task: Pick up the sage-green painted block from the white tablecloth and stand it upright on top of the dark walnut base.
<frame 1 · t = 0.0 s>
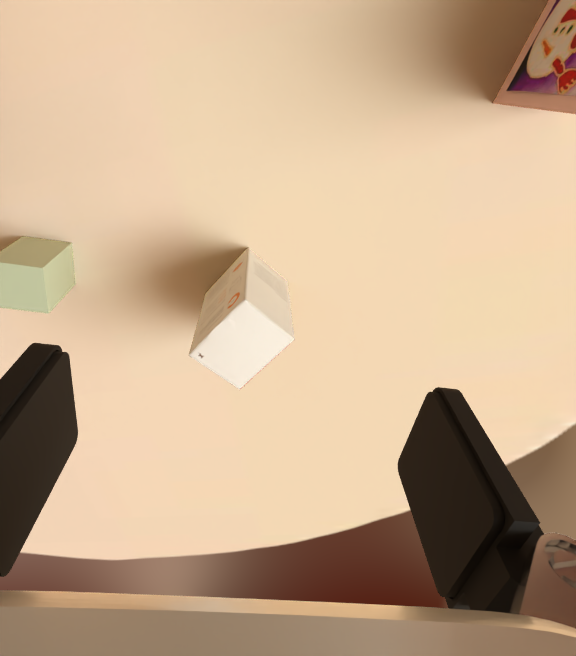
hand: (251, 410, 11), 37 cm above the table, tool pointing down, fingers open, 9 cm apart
sage block: (50, 260, 47), on the table
greeting card: (553, 49, 39), on the table
small box: (246, 286, 50), on the table
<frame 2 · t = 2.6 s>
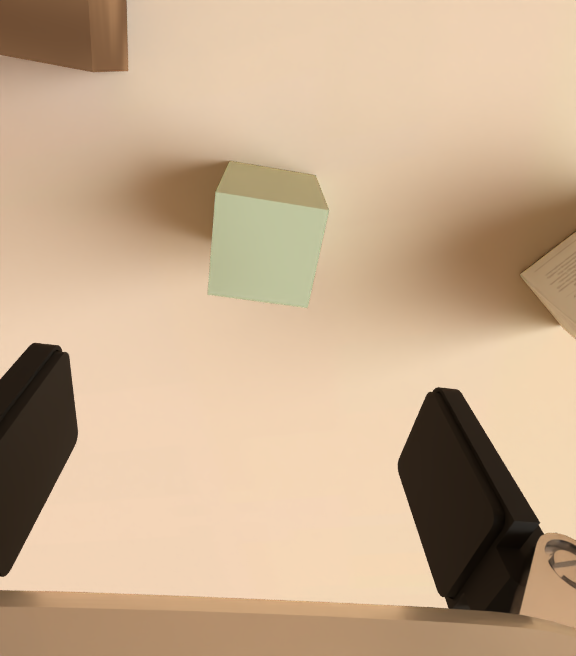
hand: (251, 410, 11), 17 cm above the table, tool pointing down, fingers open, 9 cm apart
sage block: (266, 210, 26), on the table
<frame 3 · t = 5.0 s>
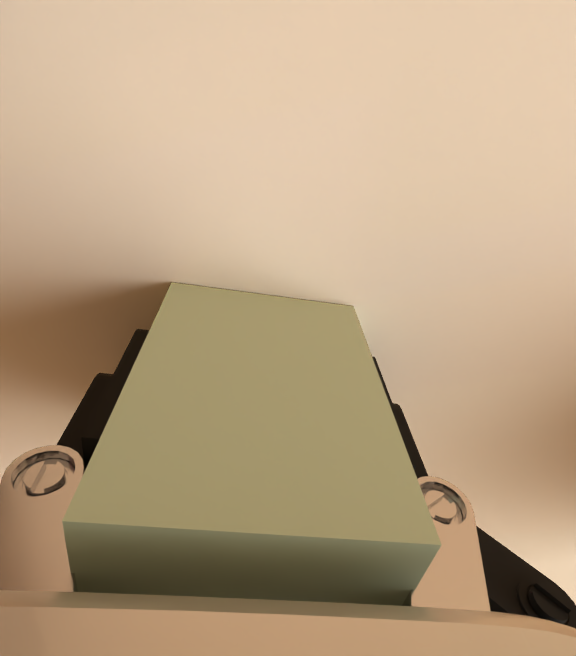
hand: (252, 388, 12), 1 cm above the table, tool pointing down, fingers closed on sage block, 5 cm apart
sage block: (253, 367, 13), on the table, touching gripper
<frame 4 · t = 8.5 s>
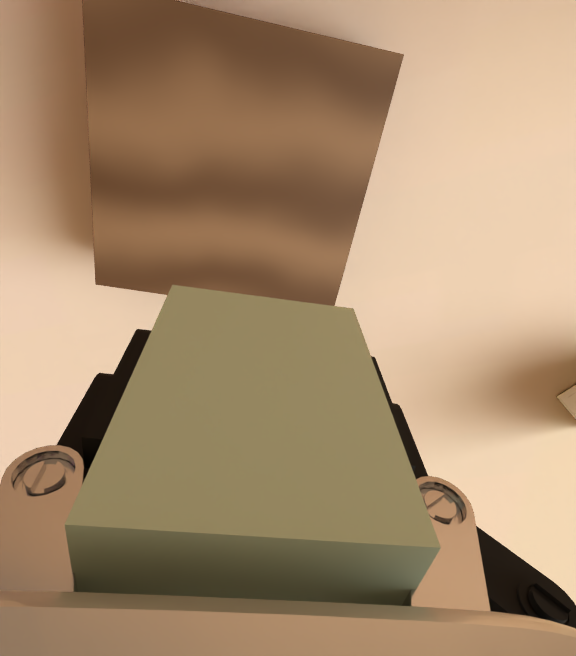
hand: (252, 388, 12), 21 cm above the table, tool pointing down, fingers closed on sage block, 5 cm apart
sage block: (253, 369, 13), point 20 cm above the table, touching gripper
walnut base: (236, 167, 29), on the table
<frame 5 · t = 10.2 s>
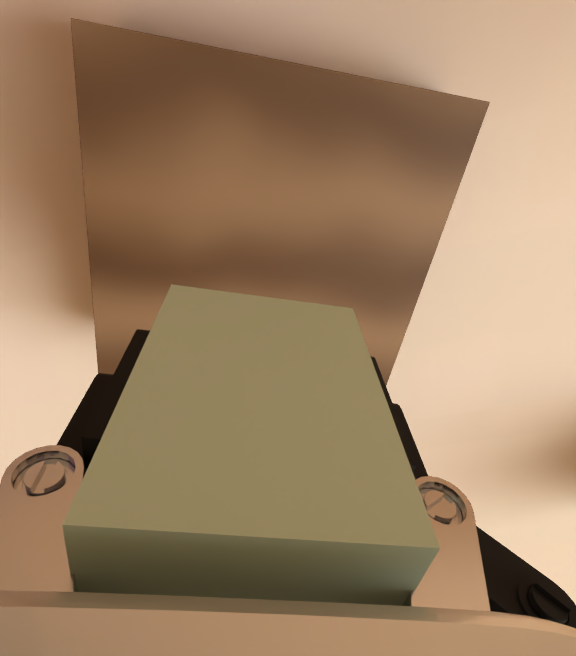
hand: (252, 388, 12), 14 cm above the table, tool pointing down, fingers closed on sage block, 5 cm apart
sage block: (253, 369, 13), point 13 cm above the table, touching gripper
walnut base: (264, 226, 24), on the table
when the fingers open (7 cm above the table, at t = 11.9 s): sage block drops 1 cm, resting on walnut base.
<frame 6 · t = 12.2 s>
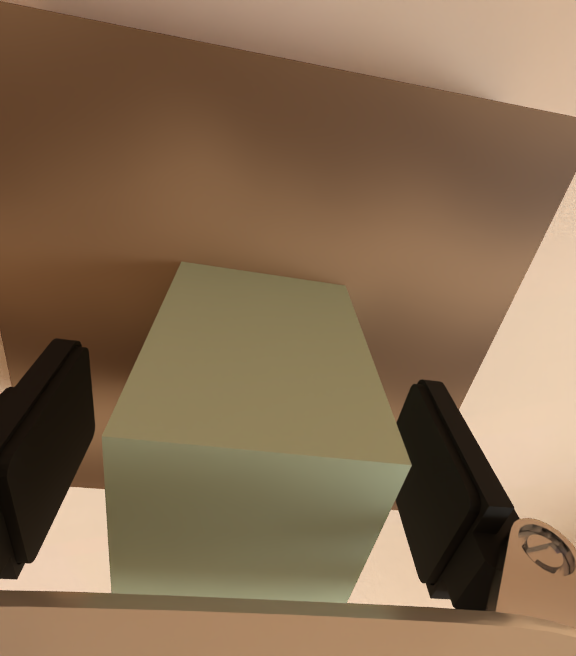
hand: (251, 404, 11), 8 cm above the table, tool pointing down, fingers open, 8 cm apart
sage block: (254, 342, 14), point 5 cm above the table, touching walnut base
walnut base: (257, 279, 18), on the table
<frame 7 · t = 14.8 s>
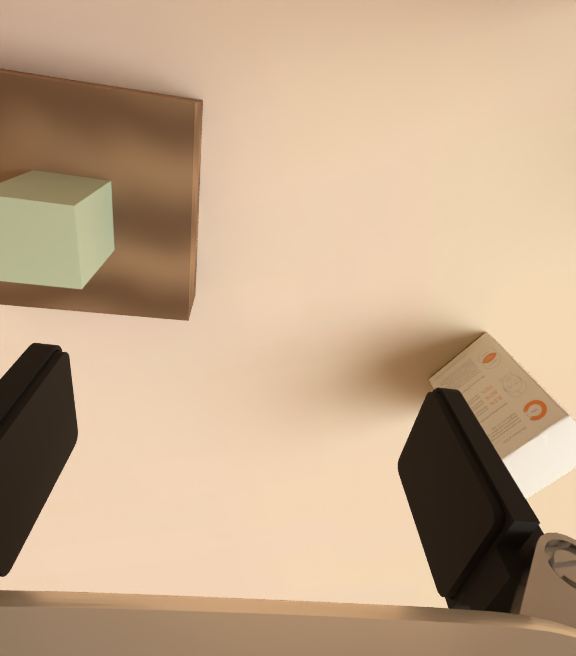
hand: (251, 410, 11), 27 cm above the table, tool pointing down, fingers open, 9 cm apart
sage block: (76, 212, 30), point 5 cm above the table, touching walnut base
walnut base: (98, 195, 34), on the table
small box: (471, 369, 46), on the table
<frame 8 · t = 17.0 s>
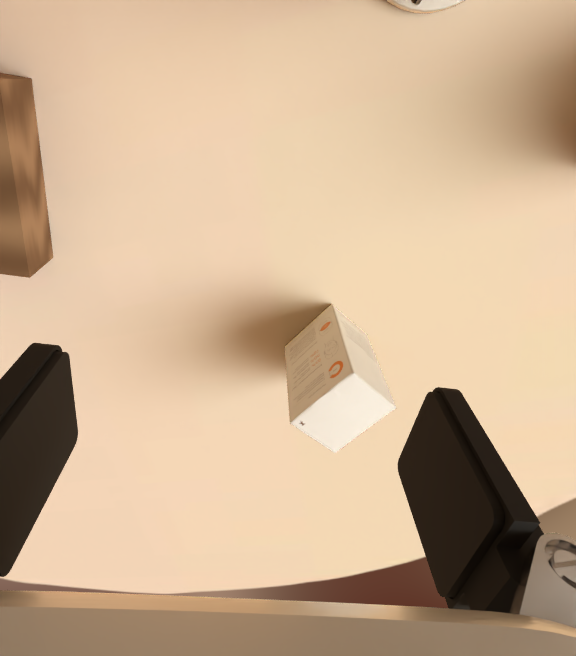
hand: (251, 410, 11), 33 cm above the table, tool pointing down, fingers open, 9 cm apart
small box: (325, 339, 50), on the table
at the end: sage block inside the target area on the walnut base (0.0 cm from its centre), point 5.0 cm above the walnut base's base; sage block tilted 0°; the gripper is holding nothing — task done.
